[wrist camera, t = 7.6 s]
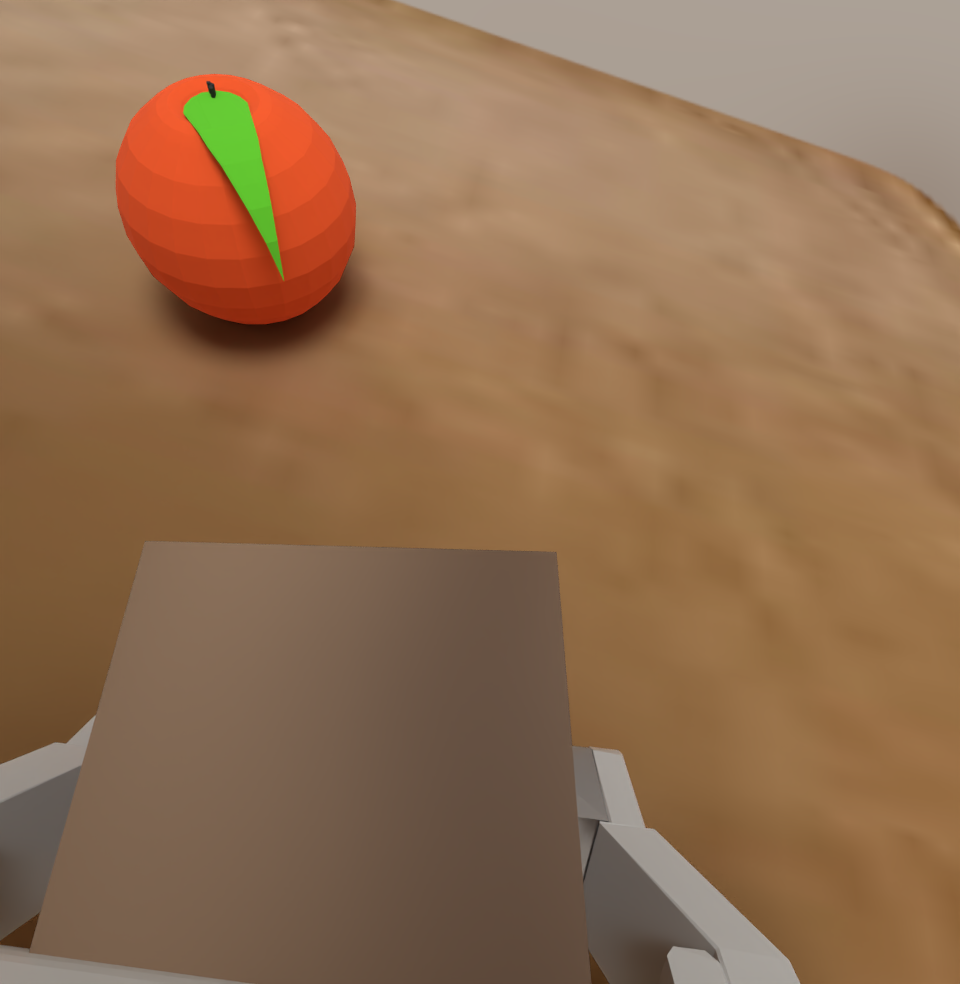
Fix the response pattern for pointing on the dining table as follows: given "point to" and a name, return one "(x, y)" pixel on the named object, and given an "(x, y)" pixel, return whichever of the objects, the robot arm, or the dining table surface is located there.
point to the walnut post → (329, 773)
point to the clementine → (235, 199)
